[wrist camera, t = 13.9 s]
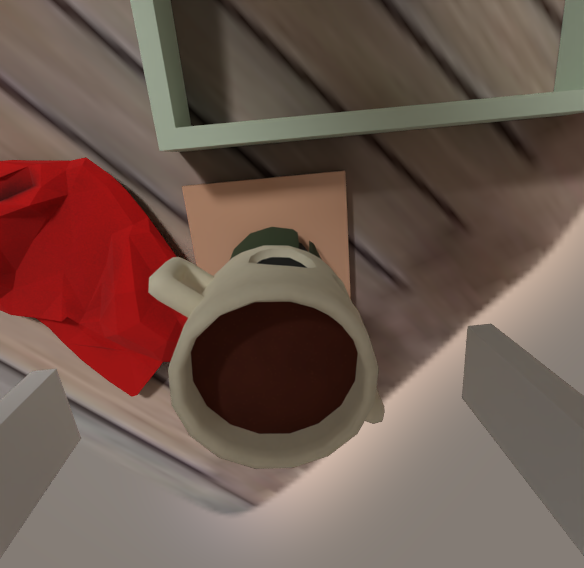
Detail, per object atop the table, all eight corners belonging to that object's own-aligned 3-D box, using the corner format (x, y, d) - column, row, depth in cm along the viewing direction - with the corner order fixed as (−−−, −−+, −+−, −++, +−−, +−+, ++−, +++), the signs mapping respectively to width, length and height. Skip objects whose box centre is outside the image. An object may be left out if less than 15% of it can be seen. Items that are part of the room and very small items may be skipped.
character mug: (373, 274, 25) (467, 388, 12) (310, 352, 27) (340, 520, 14) (234, 177, 22) (183, 201, 10) (176, 270, 24) (72, 386, 12)
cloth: (283, 287, 25) (282, 299, 22) (179, 425, 28) (170, 447, 26) (-119, 18, 20) (-169, 1, 17) (-182, 227, 23) (-231, 235, 21)
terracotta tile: (215, 353, 27) (213, 359, 26) (185, 185, 23) (182, 186, 22) (350, 339, 27) (352, 344, 26) (343, 170, 23) (345, 170, 23)
